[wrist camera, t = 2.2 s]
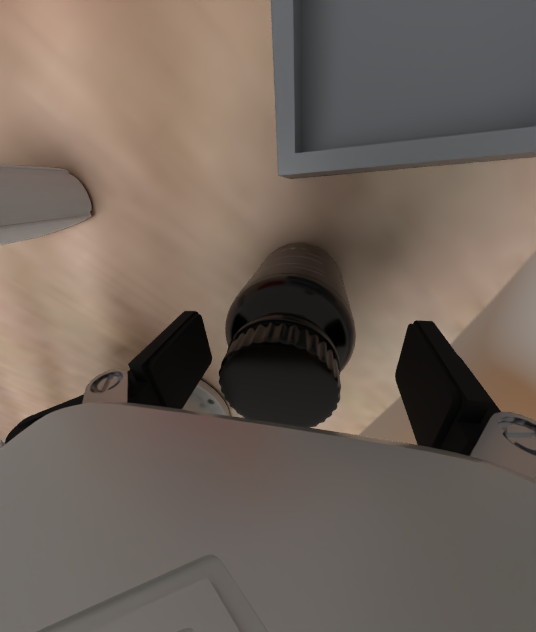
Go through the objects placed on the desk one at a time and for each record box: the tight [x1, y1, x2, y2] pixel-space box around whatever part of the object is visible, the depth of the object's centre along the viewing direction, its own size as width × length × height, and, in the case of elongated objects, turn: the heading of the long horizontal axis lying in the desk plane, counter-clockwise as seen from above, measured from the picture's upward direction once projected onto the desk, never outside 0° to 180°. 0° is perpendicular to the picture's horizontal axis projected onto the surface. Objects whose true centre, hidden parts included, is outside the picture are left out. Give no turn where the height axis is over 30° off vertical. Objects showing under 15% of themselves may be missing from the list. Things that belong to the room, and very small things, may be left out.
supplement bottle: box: [219, 244, 356, 428], centre depth 14 cm, size 7×7×12 cm
